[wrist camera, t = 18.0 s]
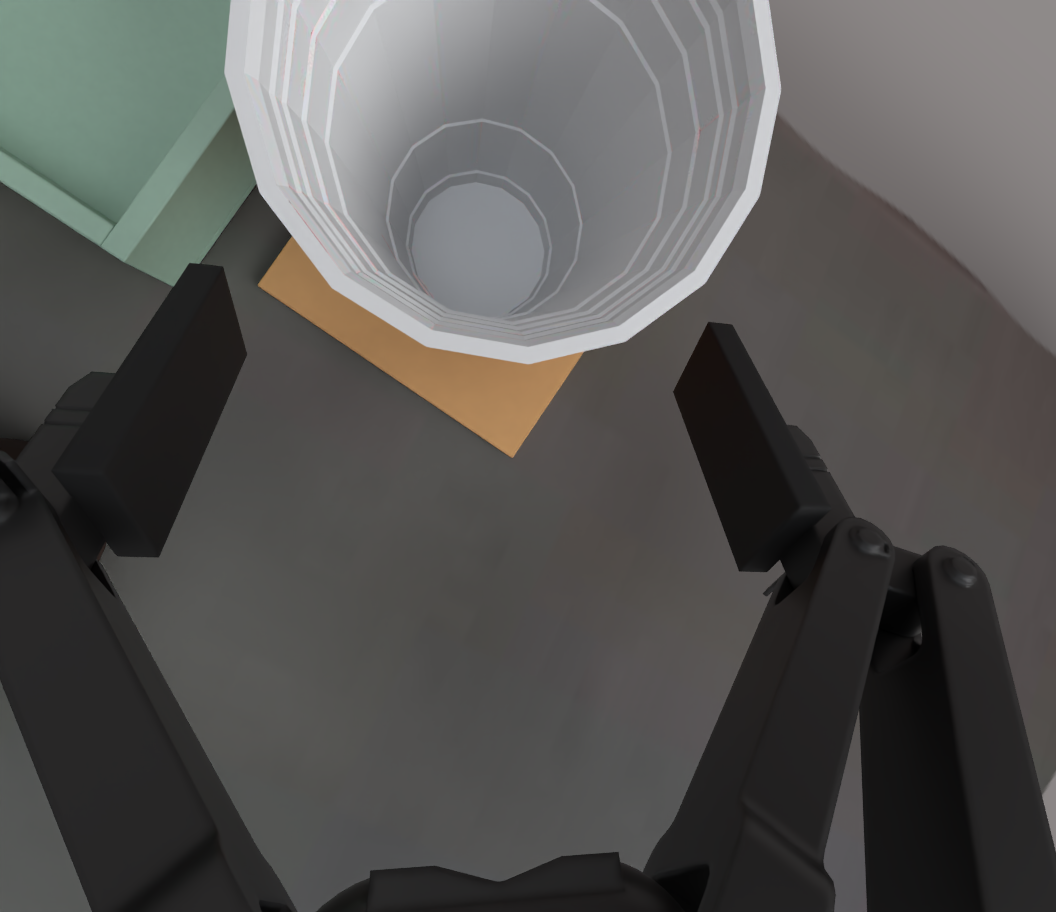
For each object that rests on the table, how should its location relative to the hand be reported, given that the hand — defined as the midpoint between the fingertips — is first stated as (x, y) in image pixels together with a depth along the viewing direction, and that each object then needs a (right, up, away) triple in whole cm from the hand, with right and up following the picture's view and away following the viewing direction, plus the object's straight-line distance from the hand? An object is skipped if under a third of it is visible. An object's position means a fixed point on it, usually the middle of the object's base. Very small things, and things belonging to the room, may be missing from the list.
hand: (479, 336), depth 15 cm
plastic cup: (-1, +5, +7) cm, 8 cm away
